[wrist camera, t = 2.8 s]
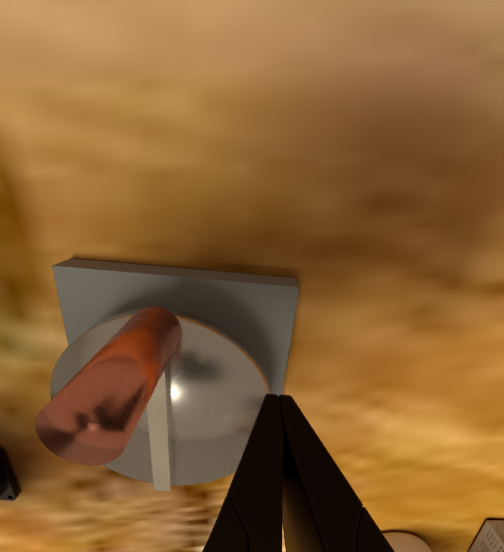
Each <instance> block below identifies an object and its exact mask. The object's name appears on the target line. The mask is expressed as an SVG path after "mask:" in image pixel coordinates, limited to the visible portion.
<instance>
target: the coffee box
mask: <svg viewBox="0 0 504 552" xmlns="http://www.w3.org/2000/svg"><path fill="white" fill-rule="evenodd" d="M468 552H504V520H487V521H486V522H485V524H484V526H483V527H482V529H481V531H480V533H479V534H478V536H477V538H476V540H475V541H474V543H473V545H472V546H471V548H470V550H469V551H468Z"/></svg>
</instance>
